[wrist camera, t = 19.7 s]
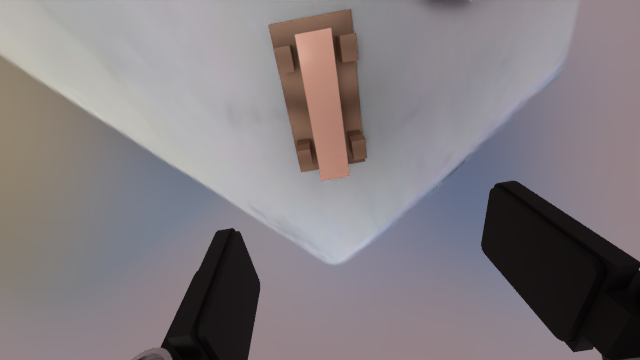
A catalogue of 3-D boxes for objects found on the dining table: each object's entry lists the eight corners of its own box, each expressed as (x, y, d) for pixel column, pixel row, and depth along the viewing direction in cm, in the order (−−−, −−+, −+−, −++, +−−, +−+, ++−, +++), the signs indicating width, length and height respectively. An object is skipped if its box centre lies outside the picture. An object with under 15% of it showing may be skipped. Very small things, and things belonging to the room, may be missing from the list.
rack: (269, 25, 29) (263, 22, 25) (349, 9, 29) (357, 4, 24) (301, 169, 37) (301, 186, 33) (363, 158, 37) (371, 174, 33)
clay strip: (295, 35, 29) (294, 34, 25) (327, 29, 29) (331, 27, 25) (319, 165, 36) (321, 180, 32) (344, 161, 36) (349, 176, 32)
